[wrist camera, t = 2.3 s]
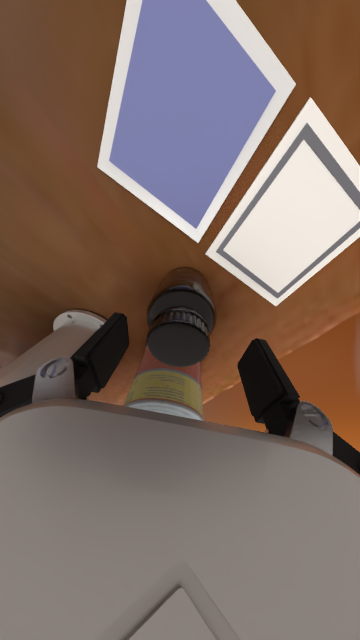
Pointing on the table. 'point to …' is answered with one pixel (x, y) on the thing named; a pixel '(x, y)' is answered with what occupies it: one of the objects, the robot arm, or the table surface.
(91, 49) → the table surface
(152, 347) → the supplement bottle
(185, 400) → the canned food
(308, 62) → the table surface
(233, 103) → the ink pad
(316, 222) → the marked card
